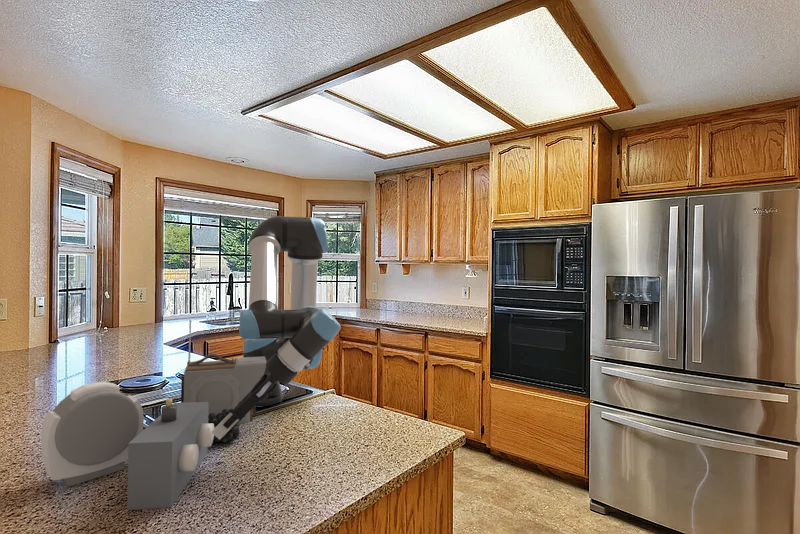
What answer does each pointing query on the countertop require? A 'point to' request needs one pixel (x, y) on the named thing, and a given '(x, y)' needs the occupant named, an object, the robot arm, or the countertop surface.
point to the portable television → (221, 381)
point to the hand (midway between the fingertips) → (216, 434)
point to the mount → (163, 458)
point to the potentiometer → (168, 412)
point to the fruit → (232, 433)
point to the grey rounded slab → (90, 433)
